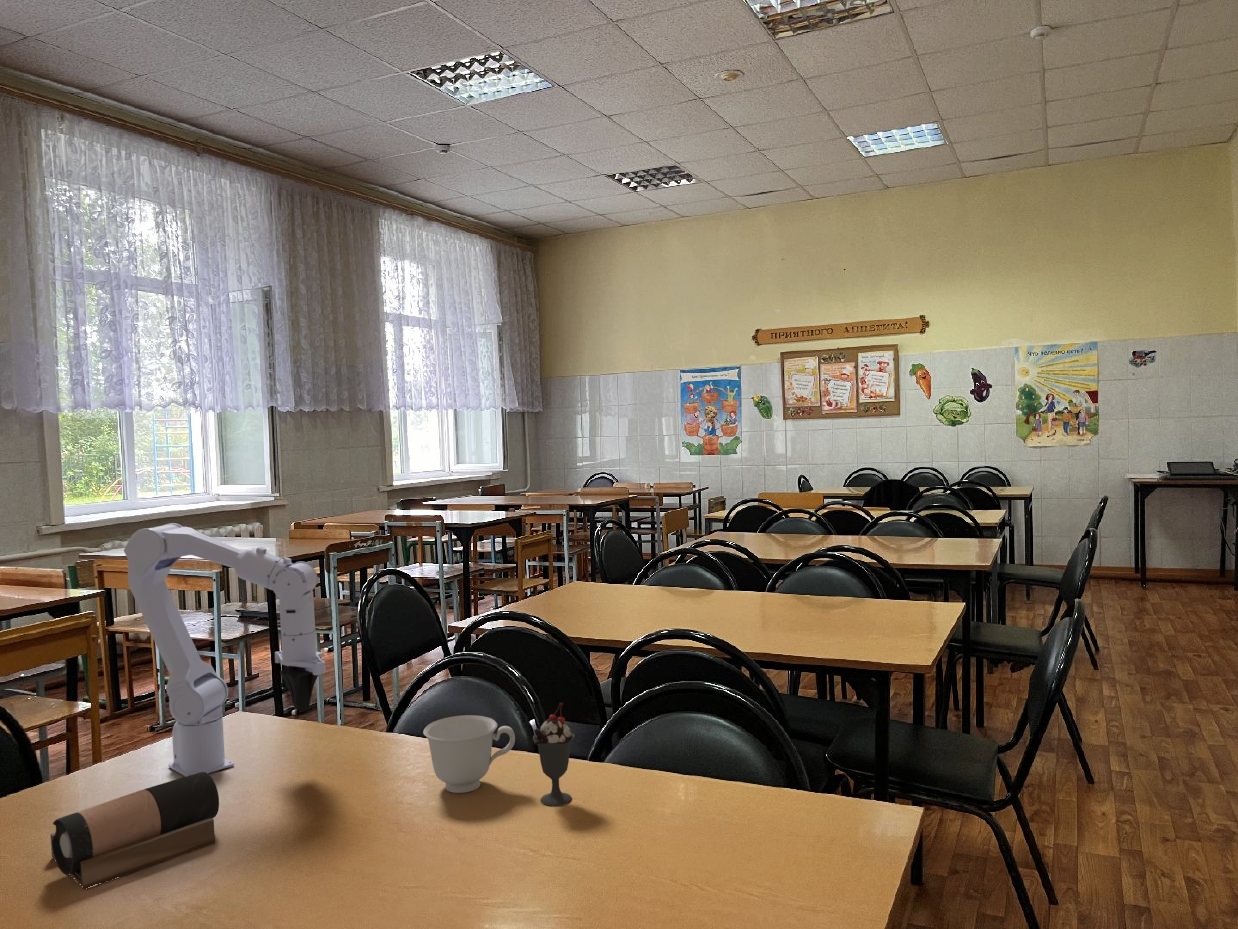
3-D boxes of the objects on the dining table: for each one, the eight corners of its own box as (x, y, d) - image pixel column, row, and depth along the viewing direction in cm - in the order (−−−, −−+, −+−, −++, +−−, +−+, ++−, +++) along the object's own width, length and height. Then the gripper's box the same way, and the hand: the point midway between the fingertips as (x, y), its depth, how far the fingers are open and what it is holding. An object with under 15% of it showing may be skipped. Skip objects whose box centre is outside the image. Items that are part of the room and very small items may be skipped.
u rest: (51, 858, 128) (50, 834, 128) (176, 817, 140) (175, 795, 140) (84, 890, 118) (82, 864, 118) (215, 843, 131) (213, 819, 130)
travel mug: (225, 815, 133) (77, 871, 118) (203, 825, 138) (58, 880, 122) (211, 764, 135) (64, 813, 119) (190, 776, 139) (46, 824, 124)
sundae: (579, 791, 145) (576, 699, 144) (573, 809, 138) (570, 712, 138) (539, 791, 146) (536, 699, 145) (531, 808, 139) (527, 712, 138)
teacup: (511, 800, 142) (509, 738, 142) (417, 802, 143) (415, 740, 142) (521, 771, 154) (519, 713, 154) (434, 773, 155) (432, 715, 154)
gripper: (340, 633, 157) (343, 710, 158) (299, 623, 167) (302, 695, 167) (302, 641, 152) (306, 720, 152) (262, 630, 162) (266, 704, 162)
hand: (301, 708), depth 160 cm, fingers closed
